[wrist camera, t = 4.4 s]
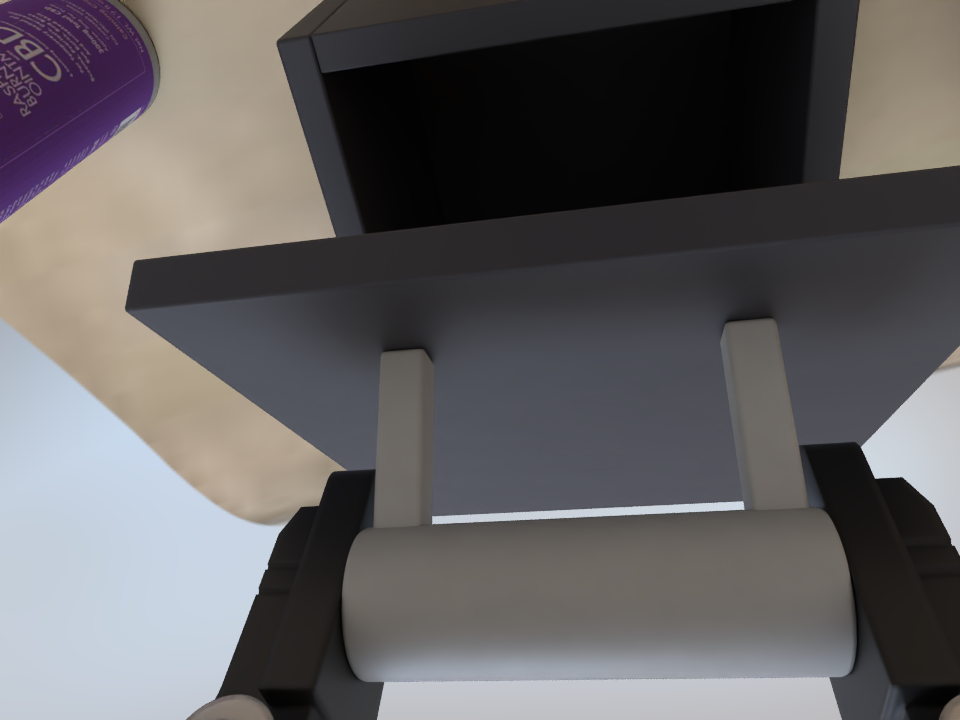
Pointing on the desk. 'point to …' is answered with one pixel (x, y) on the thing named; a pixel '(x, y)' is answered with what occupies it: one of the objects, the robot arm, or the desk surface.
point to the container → (66, 87)
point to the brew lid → (591, 415)
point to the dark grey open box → (563, 103)
